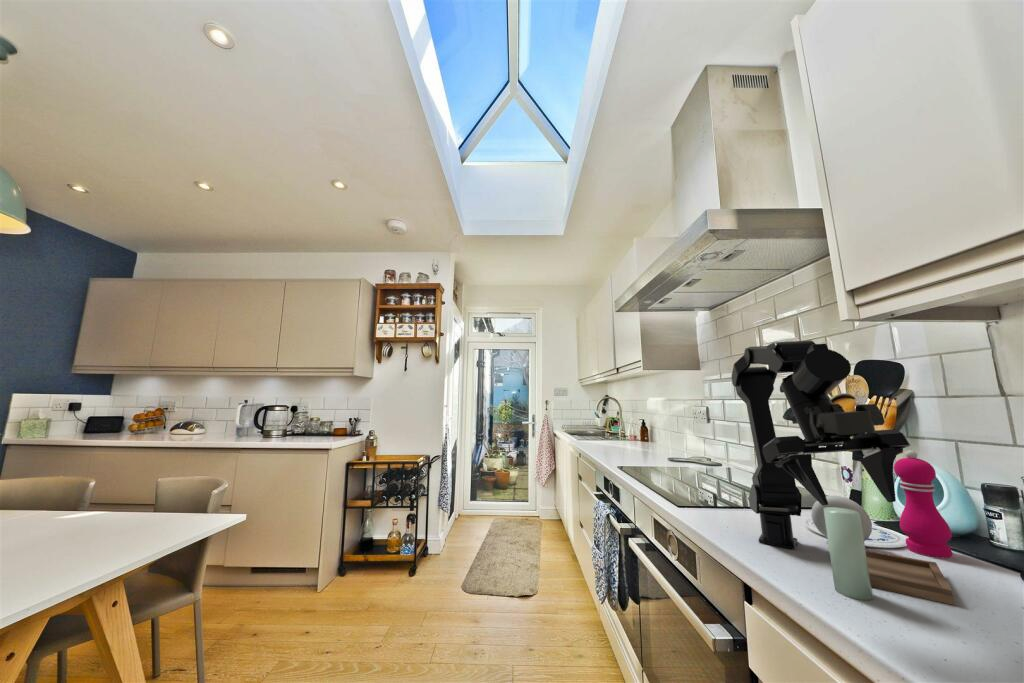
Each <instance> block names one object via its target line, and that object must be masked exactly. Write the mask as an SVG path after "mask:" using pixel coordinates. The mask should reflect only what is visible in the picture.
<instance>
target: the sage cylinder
mask: <svg viewBox="0 0 1024 683" xmlns="http://www.w3.org/2000/svg"><path fill="white" fill-rule="evenodd" d="M823 509H824V516H825V524H826V531H827V538H826V539H827V543H828V551H829V557H830V558H829V560H830V563H831V572H832V579H833V586H834V587H833V588H834V590H835V591H836V593H838V594H840V595H842V596H845V597H848V598H850V599H855V600H859V601H860V600H861V601H870V600H873V599H874V596H873V590H872V587H871V582H870V576H869V570H868V563H867V557H866V550H867V549H866V545H865V541H864V538H863V531H862V525H861V518H860V513H859V512H857V511H854V510H850V509H845V508H836V507H826V508H823Z"/></svg>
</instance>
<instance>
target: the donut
mask: <svg viewBox="0 0 1024 683" xmlns="http://www.w3.org/2000/svg"><path fill="white" fill-rule="evenodd" d="M825 496H826V498H827V501H828V505H825V506H823V505H821V504H820V503H819V502H818V501H817V500H816V501H815V502H814V504H813V505H812V507H811V512H810V513H811V515H810V516H811V518H812V522H813V525H814V527H815V528H816V529H817V530H818V532H819V533H821V534H822V535H823V536H824V537H825V538H826V539H828V538H827V531H826V524H825V516H824V509H823V508H826V507H836V508H845V509H850V510H854V511H857V512H859V513H860V518H861V525H862V531H863V538H864V542H865V541H867V540H869V538H870V536H871V535H872V533H873V524H872V520H871V518H870V515H869V514H868V513H867V511H866V510H865V508H864V507H862V506H861V505H859V504H858V502H856V501H853V500H852V499H850V498H848V497H844V496H841V495H825Z"/></svg>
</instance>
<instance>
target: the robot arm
mask: <svg viewBox="0 0 1024 683" xmlns="http://www.w3.org/2000/svg"><path fill="white" fill-rule="evenodd" d="M751 365H766V366H754V367H753V366H752V367H751ZM767 367H768V368H767ZM851 370H852V366H851V363H850V361H849V360H848V359H847V358H846V357H845V356H844V355H842V354H841V353H839V352H837V351H835V350H833V349H829V347H828V345H827V343H815V342H814V341H813V340H811V339H810V340H793V341H792V340H790V341H773V342H771V343H769V344H768V345H761V346H760V345H759V346H748V347H746V348H745V349H744V353H743V355H742V356H741V357H740V358H739V359H738V360H736V361H735V362H734V364H733V366H732V372H731V383H732V385H733V387H734V388H735V391H736V395H737V396H738V397H739V398H740V399H741V400H742V401H743V402H744V403H745V405H746V411H747V414H748V421H749V425H750V431H751V435H752V436H751V437H752V441H753V446H754V447H753V448H754V452H755V457H756V463H757V467H756V470H755V471H754V474H753V475H752V477H751V480H752V484H751V487H750V491H749V495H748V503H749V508H750V509H751V511H753V512H754V513H755V514H759V517H760V518H759V519H760V527H761V529H760V530H761V534H760V536H759V538H758V542H759V543H762V544H767V545H772V546H776V547H777V546H778V547H781V548H782V547H783V548H787V549H793V550H794V549H796V547H797V543H798V538H796V537H794V532H793V525H792V524H793V523H792V517H791V516H797V517H801V516H802V500H803V494H802V493H801V492H800V489H799V487H798V486H797V483H796V481H797V482H798V483H799V484H800V485H801V486H802V487H803V488H804V489H805V490H806V491H807V492H808V493H809V494H811V496H812V497H813V498H814V499H815V500H816V501H818V502H819V503H820V504H821V505H823V506H825V505H828V501H827V498H826V496H827V495H826V493H825V492H824V489H823V486H822V485H821V483H820V481H819V479H818V476H817V474H816V472H815V470H814V468H813V462H812V461H813V460H812V454H822V453H823V454H824V453H825V454H826V453H841V452H855V451H856V453H857V454H859V455H861V456H862V457H863V458H859V462H860V463H861V466H863V468H864V470H865V471H866V472H867V474H868V475H869V477H870V478H871V480H872V482H873V483H874V485H875V486H876V488H877V490H878V491H879V493H880V494H881V495H882V496H883V497H884V499H885V500H886V501H887V502H888V503H895V502H896V501H897V500H896V489H895V480H894V464H895V463H894V462H895V460H896V458H897V456H898V455H900V454H902V453H904V449H905V448H909V447H911V443H910V442H909V440H908V438H907V437H906V435H905V434H904V433H903V432H901V431H899V430H897V429H895V428H894V429H890V428H889V429H877V430H876V428H875V426H883V425H884V424H885V421H886V420H885V418H884V414H883V412H882V411H881V410H880V408H879V407H878V405H877V404H876V403H870V404H869V403H868V404H866V403H865V404H856V405H855V410H853V411H845V410H844V408H843V407H842V405H841V404H840V403H835V404H834V403H833V401H832V400H831V397H830V395H829V394H830V393H831V392H832V391H834V389H836V387H838V386H839V385H840V384H841V383H842V382H843V381H844V380H845V379H846V378H847V377H848V376H849V375H850V373H851ZM780 373H791V374H789V375H787V376H786V377H783V378H782V379H781V380H782V381H781V383H780V385H779V392H780V393H783V394H784V396H785V398H786V400H787V402H788V404H789V407H790V409H791V411H792V413H793V416H792V417H791V418H790V420H791V421H792V424H793V425H794V424H795V425H796V424H798V427H799V429H800V431H801V433H802V435H803V437H804V439H803V438H802V437H800V436H799V435H789V436H788V435H787V436H777V435H776V431H775V425H774V420H773V416H772V412H771V407H770V402H769V401H770V398H771V396H772V395H773V392H774V390H775V387H774V384H775V382H776V379H777V376H778V374H780ZM860 433H863V434H862V435H860ZM857 435H860V436H858V437H857V438H851V437H855V436H857Z"/></svg>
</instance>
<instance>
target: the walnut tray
mask: <svg viewBox="0 0 1024 683" xmlns="http://www.w3.org/2000/svg"><path fill="white" fill-rule="evenodd" d="M865 550H866V557H867V563H868V570H869V576H870V582H871V588H875V589H880V590H885V591H890V592H895V593H899V594H903V595H908V596H910V597H917V598H921V599H926V600H929V601H936V602H939V603H944V604H949V605H953V606H955V599H954V595H953V590H952V588H951V586H950V584H949V583H948V581H947V579H946V577H945V576H944V574H943V573H942V571H941V569H940V567H939V565H938V564H937V562H934V561H930V560H923V559H917V558H912V557H907V556H901V555H895V554H889V553H884V552H878V551H873V550H867V549H865Z"/></svg>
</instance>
